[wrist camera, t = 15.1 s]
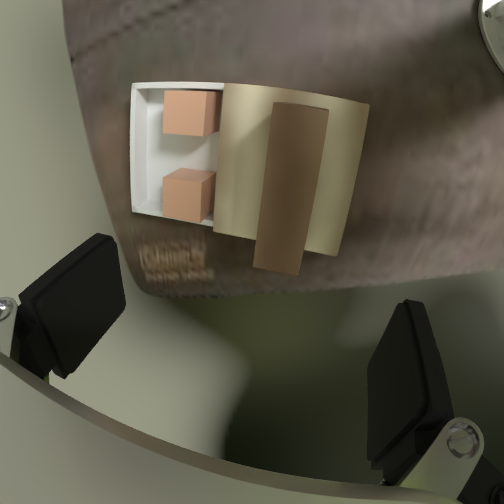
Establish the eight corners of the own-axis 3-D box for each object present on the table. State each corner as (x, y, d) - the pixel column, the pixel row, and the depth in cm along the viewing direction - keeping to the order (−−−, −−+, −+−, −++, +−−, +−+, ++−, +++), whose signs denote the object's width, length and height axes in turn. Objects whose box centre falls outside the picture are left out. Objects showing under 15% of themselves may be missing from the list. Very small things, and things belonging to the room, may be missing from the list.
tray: (237, 84, 26) (227, 83, 24) (225, 216, 33) (216, 227, 31) (147, 82, 28) (131, 83, 25) (145, 202, 35) (132, 211, 32)
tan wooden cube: (201, 182, 27) (162, 177, 28) (200, 223, 29) (162, 216, 30) (216, 172, 30) (180, 167, 31) (214, 208, 32) (179, 202, 33)
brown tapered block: (328, 109, 22) (329, 111, 17) (304, 241, 28) (298, 276, 23) (285, 102, 23) (273, 102, 17) (267, 233, 29) (252, 266, 23)
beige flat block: (363, 104, 24) (370, 104, 21) (336, 238, 31) (336, 256, 28) (237, 84, 26) (224, 82, 23) (225, 216, 33) (213, 231, 30)
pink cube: (206, 91, 23) (164, 90, 23) (203, 136, 25) (162, 133, 25) (222, 91, 26) (184, 90, 27) (218, 131, 28) (181, 128, 29)
